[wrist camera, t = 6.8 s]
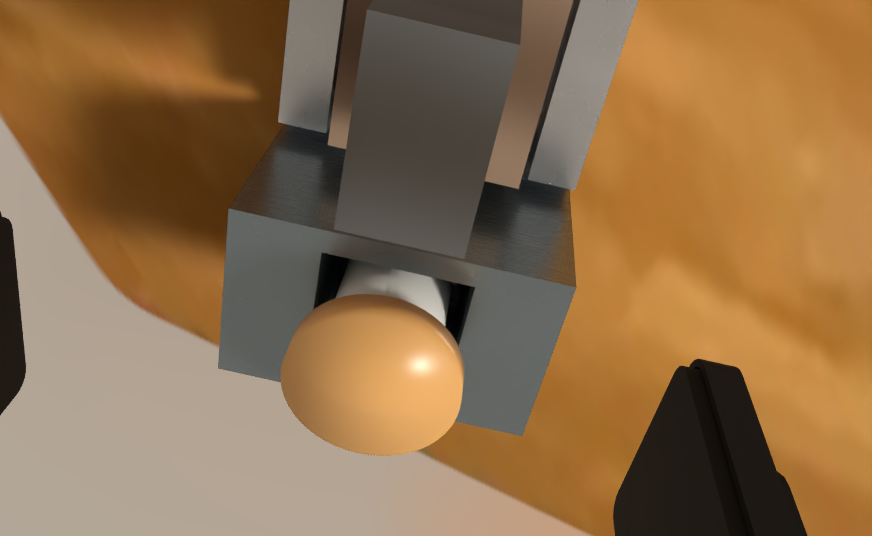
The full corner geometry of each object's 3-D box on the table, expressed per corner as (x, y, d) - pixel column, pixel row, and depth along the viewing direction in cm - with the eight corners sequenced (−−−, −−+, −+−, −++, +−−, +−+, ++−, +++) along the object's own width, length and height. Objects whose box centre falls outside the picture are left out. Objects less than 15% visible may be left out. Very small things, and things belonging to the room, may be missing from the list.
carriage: (385, -152, 23) (298, -92, 15) (591, -104, 23) (621, -16, 15) (346, 108, 27) (262, 268, 19) (519, 148, 27) (512, 325, 19)
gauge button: (350, 162, 27) (289, 297, 21) (494, 195, 28) (479, 340, 21) (331, 281, 30) (272, 434, 24) (462, 310, 30) (441, 471, 24)
